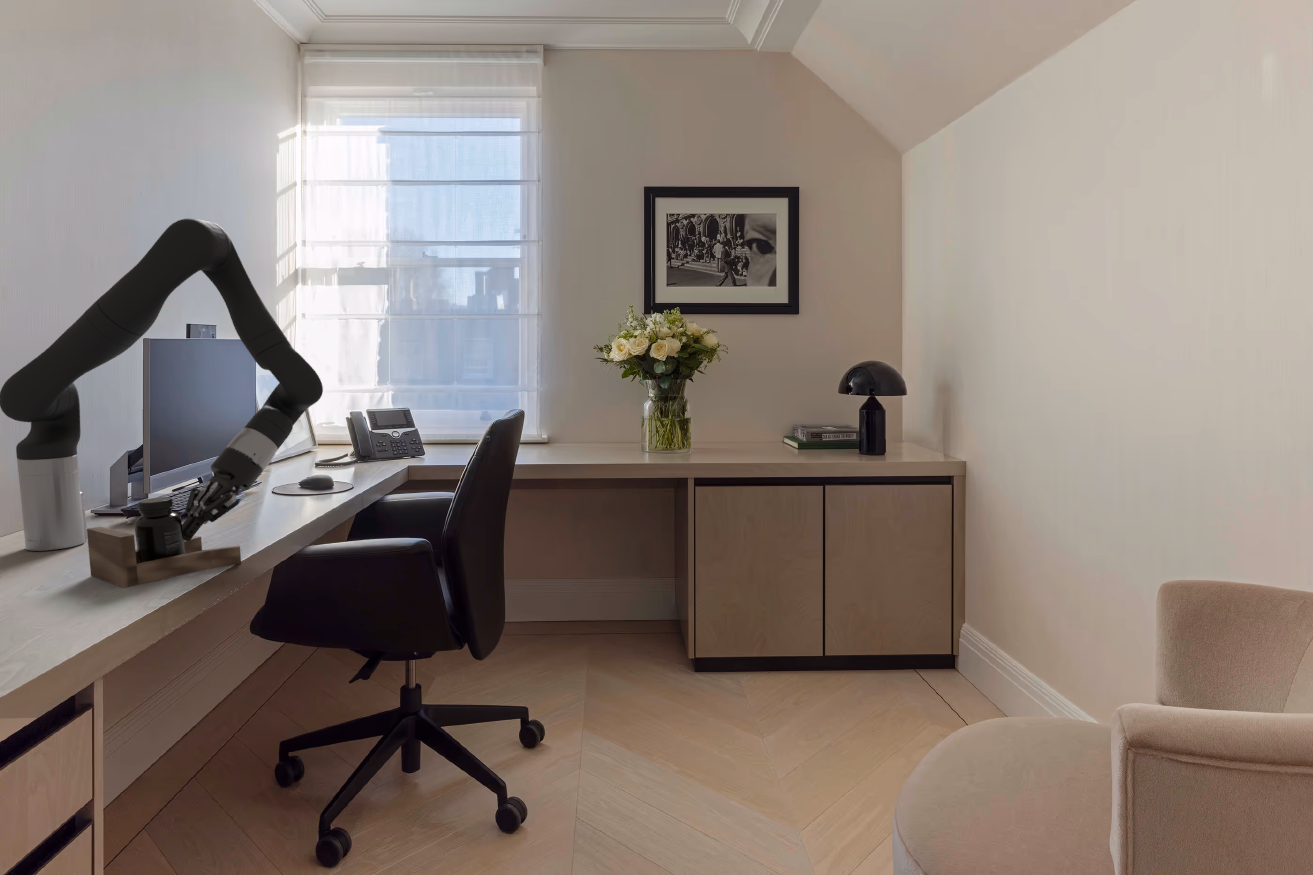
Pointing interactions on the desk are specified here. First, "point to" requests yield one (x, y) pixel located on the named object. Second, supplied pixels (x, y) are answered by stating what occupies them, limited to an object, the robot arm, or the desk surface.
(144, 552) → the supplement bottle
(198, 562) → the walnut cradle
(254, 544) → the desk surface
